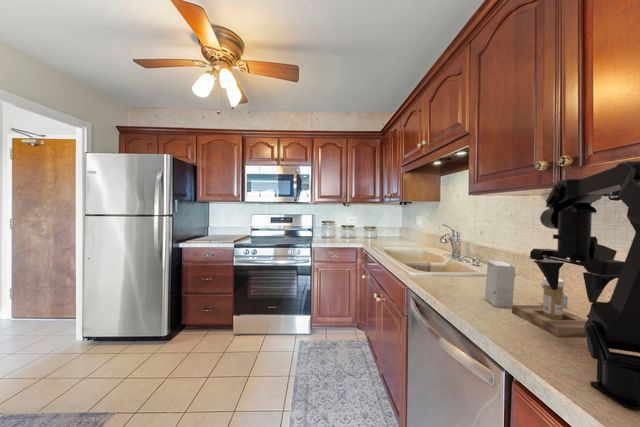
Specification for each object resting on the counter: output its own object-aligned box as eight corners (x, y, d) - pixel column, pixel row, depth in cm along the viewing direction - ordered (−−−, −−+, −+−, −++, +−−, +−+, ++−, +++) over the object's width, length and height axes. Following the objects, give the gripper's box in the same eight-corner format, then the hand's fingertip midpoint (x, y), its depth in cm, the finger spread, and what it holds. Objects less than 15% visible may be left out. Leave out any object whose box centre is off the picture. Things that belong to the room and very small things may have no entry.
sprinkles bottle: (564, 328, 74) (566, 281, 73) (544, 324, 76) (545, 279, 76) (560, 322, 78) (561, 278, 77) (540, 319, 80) (541, 275, 80)
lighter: (565, 307, 90) (565, 284, 90) (567, 308, 89) (568, 285, 89) (539, 303, 93) (540, 281, 93) (541, 305, 92) (541, 283, 92)
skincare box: (484, 299, 97) (485, 259, 97) (502, 300, 96) (503, 260, 96) (494, 307, 89) (496, 264, 89) (514, 308, 88) (515, 265, 88)
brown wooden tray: (605, 336, 69) (605, 327, 69) (557, 336, 69) (557, 327, 69) (550, 312, 85) (550, 305, 85) (511, 312, 85) (511, 305, 85)
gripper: (657, 236, 53) (655, 311, 53) (568, 228, 72) (567, 284, 72) (605, 235, 53) (602, 310, 53) (529, 228, 71) (527, 284, 72)
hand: (571, 295), depth 62 cm, fingers open, 9 cm apart
